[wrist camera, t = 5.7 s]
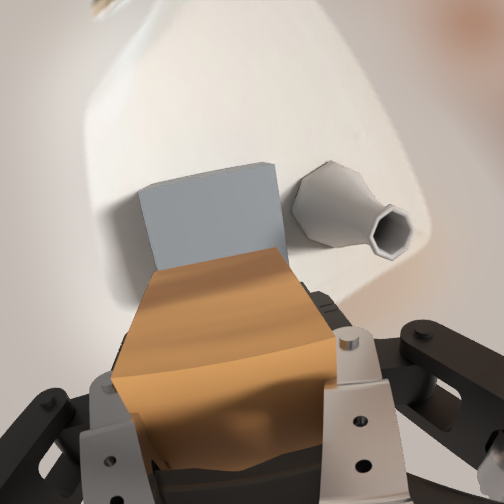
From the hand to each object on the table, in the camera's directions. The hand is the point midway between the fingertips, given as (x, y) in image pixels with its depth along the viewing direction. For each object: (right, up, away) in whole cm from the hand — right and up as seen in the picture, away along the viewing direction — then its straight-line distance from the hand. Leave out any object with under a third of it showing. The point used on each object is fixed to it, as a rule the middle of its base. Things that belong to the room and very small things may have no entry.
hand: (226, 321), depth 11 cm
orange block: (0, 0, +1) cm, 1 cm away
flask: (+8, +7, +15) cm, 18 cm away
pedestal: (-2, +5, +14) cm, 15 cm away
